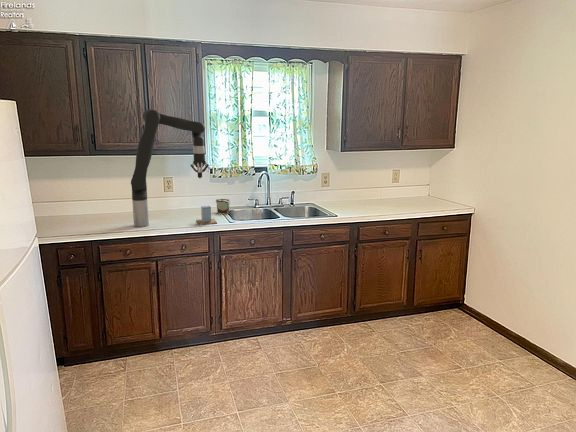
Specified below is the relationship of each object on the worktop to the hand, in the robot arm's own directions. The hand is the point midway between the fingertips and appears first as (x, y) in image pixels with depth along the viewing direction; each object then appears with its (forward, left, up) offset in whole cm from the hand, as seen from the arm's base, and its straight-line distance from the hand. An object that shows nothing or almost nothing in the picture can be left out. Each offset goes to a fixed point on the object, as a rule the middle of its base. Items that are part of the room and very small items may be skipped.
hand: (200, 178), depth 298 cm
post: (+2, -10, -29) cm, 31 cm away
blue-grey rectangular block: (+2, -10, -28) cm, 30 cm away
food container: (+20, +16, -29) cm, 39 cm away
